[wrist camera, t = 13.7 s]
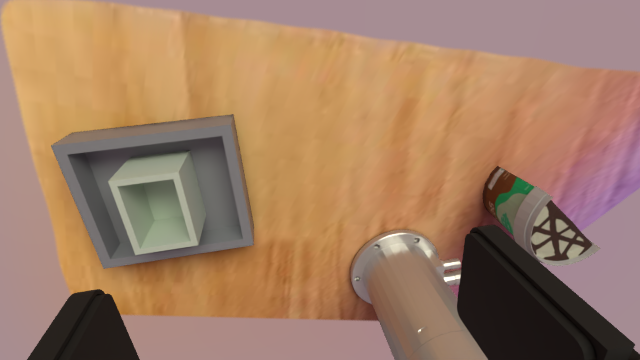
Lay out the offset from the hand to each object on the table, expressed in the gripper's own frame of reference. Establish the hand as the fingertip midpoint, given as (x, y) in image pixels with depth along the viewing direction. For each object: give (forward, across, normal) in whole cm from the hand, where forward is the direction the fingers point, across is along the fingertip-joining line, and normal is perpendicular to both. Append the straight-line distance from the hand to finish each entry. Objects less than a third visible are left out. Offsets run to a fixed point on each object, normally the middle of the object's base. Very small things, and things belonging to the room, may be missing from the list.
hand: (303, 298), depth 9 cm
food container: (+31, -29, +18) cm, 46 cm away
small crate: (+29, +12, +9) cm, 33 cm away
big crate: (+30, +12, +9) cm, 34 cm away
